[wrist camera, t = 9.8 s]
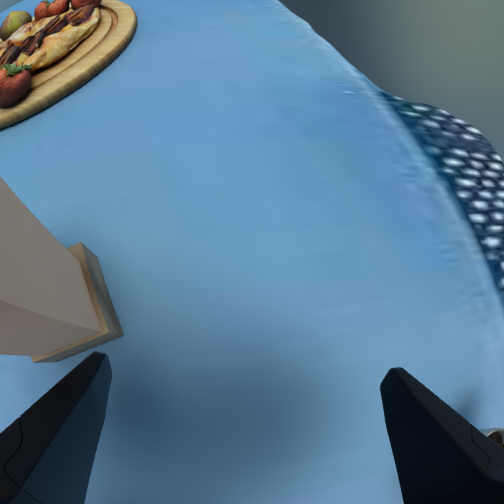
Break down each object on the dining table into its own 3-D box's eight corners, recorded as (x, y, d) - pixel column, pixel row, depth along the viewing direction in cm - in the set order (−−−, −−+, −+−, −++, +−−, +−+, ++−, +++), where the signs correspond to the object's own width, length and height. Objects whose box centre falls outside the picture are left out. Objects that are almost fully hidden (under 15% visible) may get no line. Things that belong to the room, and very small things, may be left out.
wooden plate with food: (103, 119, 27) (86, 58, 19) (-72, 155, 21) (-99, 124, 14) (156, -1, 37) (156, -39, 29) (10, 30, 32) (0, 0, 24)
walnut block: (124, 335, 21) (109, 332, 17) (57, 361, 19) (33, 362, 16) (98, 258, 22) (80, 242, 19) (35, 287, 21) (11, 275, 17)
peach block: (102, 331, 17) (-11, 295, 6) (41, 355, 16) (-96, 342, 4) (79, 261, 18) (-18, 153, 7) (22, 286, 17) (-99, 212, 5)
